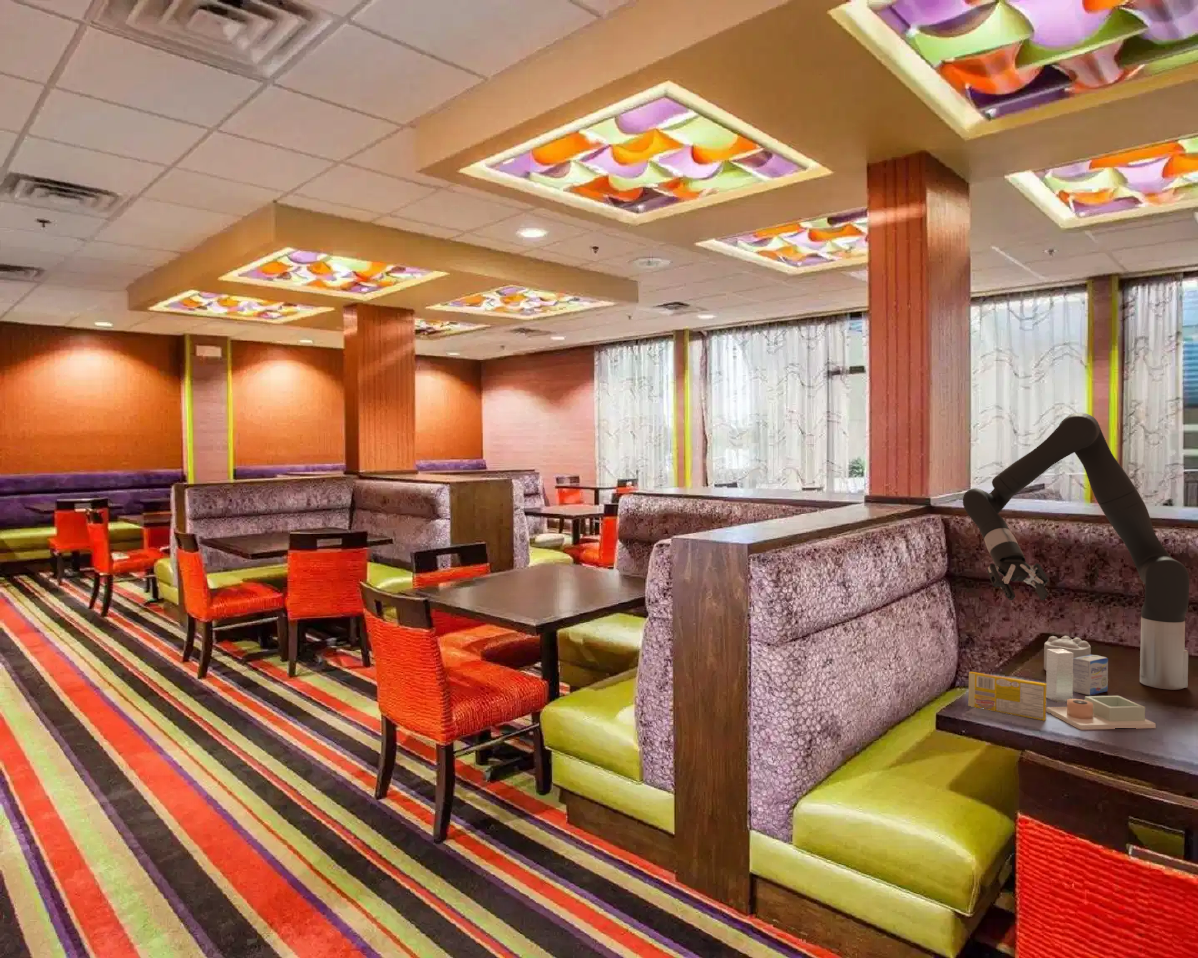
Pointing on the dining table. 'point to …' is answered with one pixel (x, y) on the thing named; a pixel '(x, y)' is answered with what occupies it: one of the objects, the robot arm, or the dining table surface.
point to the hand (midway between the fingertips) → (1028, 598)
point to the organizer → (1102, 713)
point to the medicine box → (1090, 674)
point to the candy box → (1007, 695)
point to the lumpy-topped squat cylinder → (1067, 646)
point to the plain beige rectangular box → (1059, 675)
